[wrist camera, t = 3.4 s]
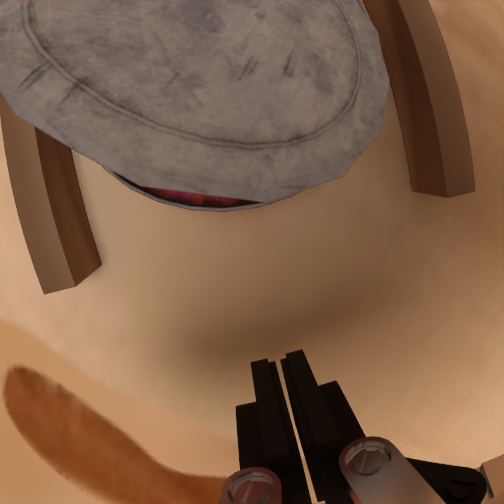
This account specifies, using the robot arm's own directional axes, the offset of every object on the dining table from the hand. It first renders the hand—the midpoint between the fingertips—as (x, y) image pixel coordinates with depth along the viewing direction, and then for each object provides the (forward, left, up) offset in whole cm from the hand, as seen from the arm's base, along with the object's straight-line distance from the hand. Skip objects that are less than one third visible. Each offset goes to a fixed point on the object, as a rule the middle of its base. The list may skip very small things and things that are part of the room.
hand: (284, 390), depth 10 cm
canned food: (-1, -11, -4) cm, 11 cm away
